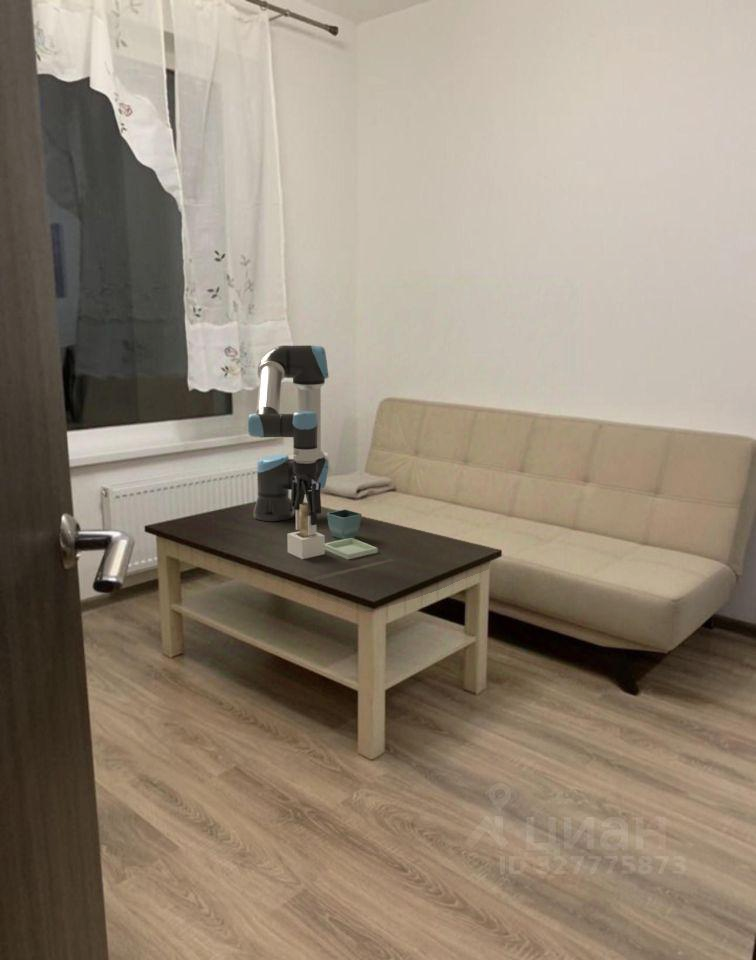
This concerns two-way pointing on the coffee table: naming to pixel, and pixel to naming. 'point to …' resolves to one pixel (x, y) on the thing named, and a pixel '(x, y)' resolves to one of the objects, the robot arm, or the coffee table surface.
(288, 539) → the hollow block
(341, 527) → the flower pot
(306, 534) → the dowel
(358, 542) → the tray
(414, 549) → the coffee table surface
